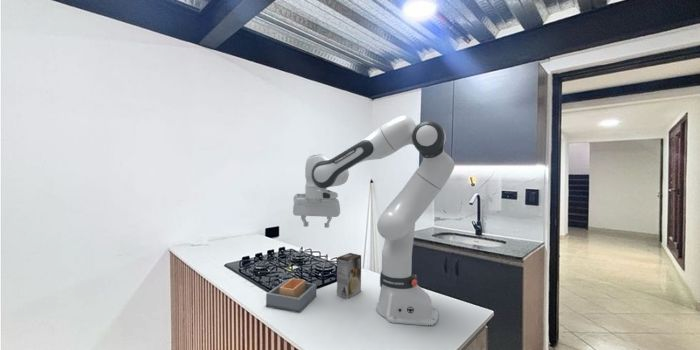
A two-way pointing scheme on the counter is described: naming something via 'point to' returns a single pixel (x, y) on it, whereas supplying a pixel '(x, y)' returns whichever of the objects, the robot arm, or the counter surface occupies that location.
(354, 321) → the counter surface
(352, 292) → the coffee box
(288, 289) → the orange crate
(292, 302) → the grey crate
